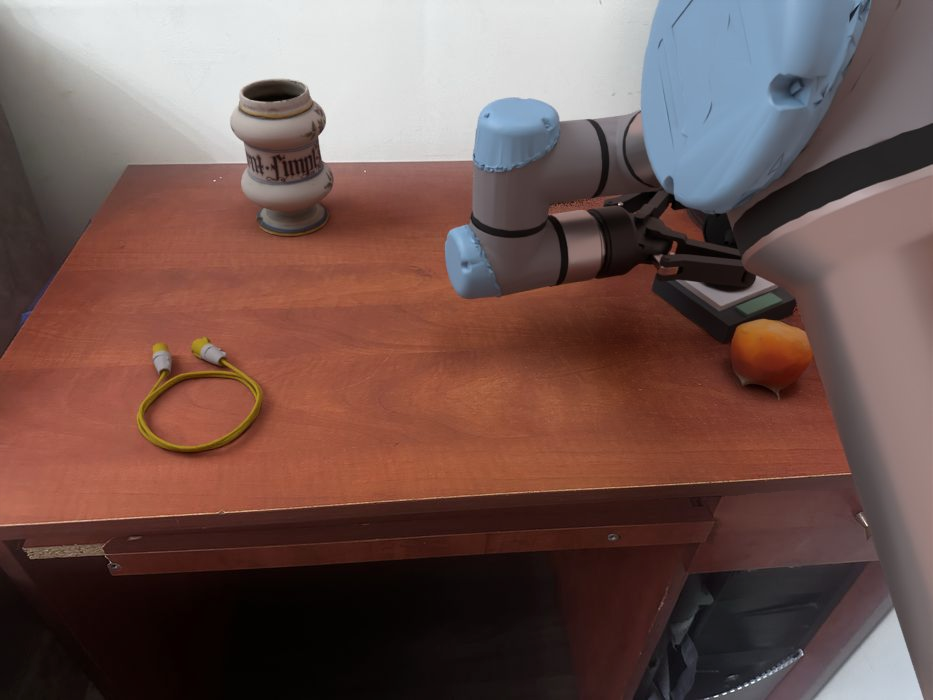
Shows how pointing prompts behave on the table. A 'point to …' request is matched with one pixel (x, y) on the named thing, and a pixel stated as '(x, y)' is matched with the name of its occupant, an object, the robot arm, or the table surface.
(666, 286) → the scale
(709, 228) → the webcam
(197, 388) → the table surface
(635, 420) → the table surface
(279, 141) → the apothecary jar
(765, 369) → the fruit
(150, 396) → the extension cord
